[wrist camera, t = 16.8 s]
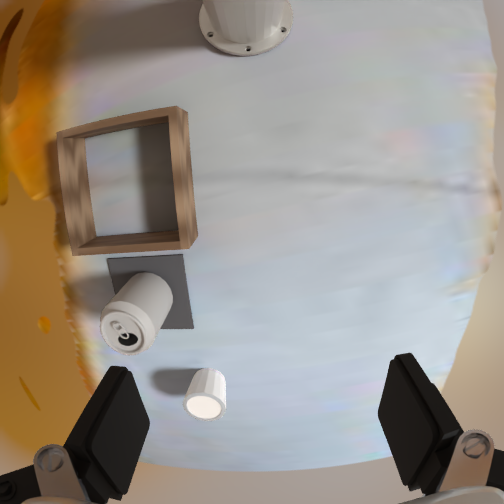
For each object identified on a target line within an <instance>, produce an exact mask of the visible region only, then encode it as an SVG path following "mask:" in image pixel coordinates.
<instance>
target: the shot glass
mask: <svg viewBox="0 0 504 504" xmlns="http://www.w3.org/2000/svg"><path fill="white" fill-rule="evenodd" d="M183 407H184V410H185V411H186V412H187V413H188V414H189V415H190V416H192V417H194V418H195V419H198V420H202V421H214V420H217V419H220V418H221V417H222V416H223V415H224V414H225V411H226V381H225V377H224V376H223V375H222V373H220V372H219V371H217V370H215V369H211V368H203V369H200V370H198V371H197V372H196V373H195V374H194V376H193V379H192V381H191V383H190V386H189V388H188V391H187V393H186V395H185V398H184V401H183Z"/></svg>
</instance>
